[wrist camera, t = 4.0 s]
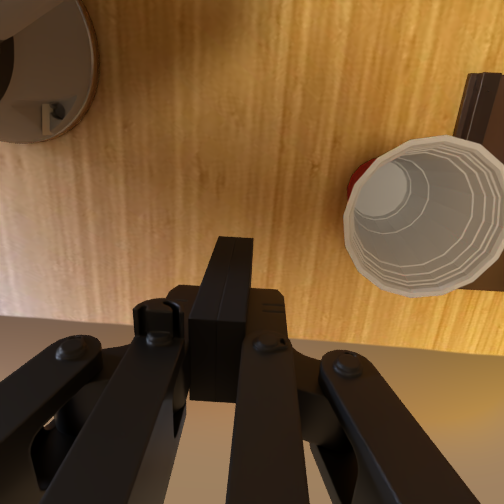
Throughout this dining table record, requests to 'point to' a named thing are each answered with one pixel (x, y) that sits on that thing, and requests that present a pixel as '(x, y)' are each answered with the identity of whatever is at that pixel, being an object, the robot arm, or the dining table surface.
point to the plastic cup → (426, 216)
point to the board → (484, 144)
